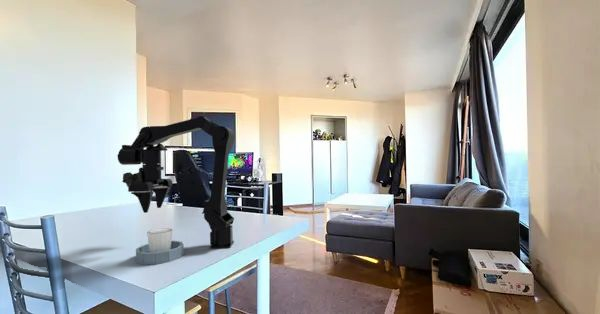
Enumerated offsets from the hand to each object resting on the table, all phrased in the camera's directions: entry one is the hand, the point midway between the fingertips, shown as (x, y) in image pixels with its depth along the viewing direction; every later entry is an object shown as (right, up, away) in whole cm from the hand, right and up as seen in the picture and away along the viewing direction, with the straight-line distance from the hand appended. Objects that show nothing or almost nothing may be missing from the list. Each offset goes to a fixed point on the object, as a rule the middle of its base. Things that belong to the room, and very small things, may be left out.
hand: (152, 210), depth 99 cm
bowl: (+8, -12, -12) cm, 19 cm away
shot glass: (+8, -11, -12) cm, 18 cm away
